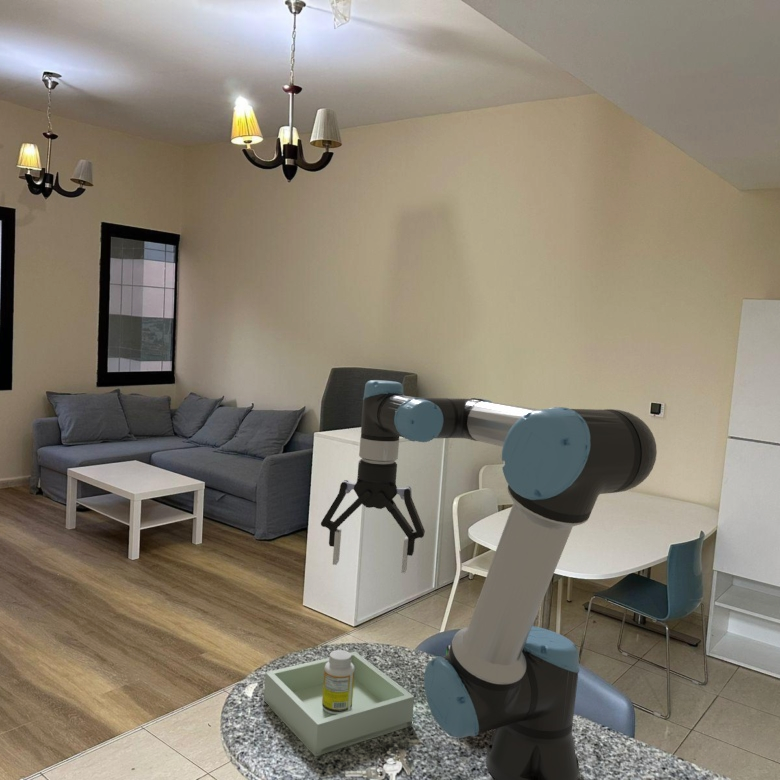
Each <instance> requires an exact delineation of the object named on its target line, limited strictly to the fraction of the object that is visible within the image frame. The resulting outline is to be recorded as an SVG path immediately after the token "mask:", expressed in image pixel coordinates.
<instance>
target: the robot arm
mask: <svg viewBox="0 0 780 780" xmlns="http://www.w3.org/2000/svg"><path fill="white" fill-rule="evenodd" d="M361 412H362V413H361V427H360V428H361V431H360V436H359V438H360V439H359V440H360V441H359V452H358V457H359V458H361V459H359V461H358V466H357V479H356V483H355V482H349V480H347V479H344V480H343V481H342V482H341V483H340V485H339V491H338V494H337V496H336V497H335V499H334V501H333V502H332V504H331V505H330V507H329V509H328V510H327V512H326V514H325V515H324V517H323V519H322V520H321V522H320V525H321V527H324V528H327V529H328V530H329V536H328V545H329V547H333V551H332V552H333V554H332V565H334V566H337V564H338V563H339V561H340V553H341V540H342V538H341V537H342V528H339V527H340V526H341V525H342V524H343V523H344V522H345V521H346V520H347V519H348V518H349V517H350V516H351V515H352V514H353V513H354V512H355V511H356V510H357V509H359V507H361V505H363V506H364V507H365V508H368V509H369V508H370V509H371V508H375V509H378V510H382V509H385V508H386V510H387V512H389V513H390V514H391V516H392V517H393V519H394V521H396V523H397V524H398V526H399V527H400V528H401V530H402V532H404V535H405V537H404V540H403V550H402V551H403V552H402V560H401V561H402V563H401V573H402V574H406V573H407V570H408V569H407V567H408V559H409V557H408V556H410V557H412V556H413V555H414V552H415V541H416V539H419V538H420V539H422V538H423V537H424V536H425V532H426V531H425V528H424V525H423V522H422V521H421V518H420V515H419V512H418V510H417V508H416V506H415V502H414V500H413V497H412V487H411V486H406V487H398V486H397V471H398V470H397V469H398V463H397V462H396V461H397V460H398V458H399V447H400V446H399V445H400V438H404V439H405V440H408V441H410V442H419V443H427V442H430V441H433V440H434V439H466V440H470V441H475V442H481V443H485V444H490V445H493V446H497V447H502V449H501V450H502V451H501V460H502V462H504V465H503V466H502V467H501V468H502V469H501V470H502V473H503V476H504V479H505V481H506V483H507V492H508V495H509V497H510V499H511V500H512V501H513V503H512V506H511V508H510V511H509V514H508V516H507V519H506V521H505V525H504V528H503V530H502V533H501V536H500V539H499V542H498V543H497V547H496V550H495V552H494V556H493V557H492V561H491V563H490V566H489V568H488V571H487V574H486V577H485V580H484V583H483V585H482V587H481V590H480V593H479V596H478V599H477V602H476V605H475V607H474V610H473V612H472V615H471V618H470V621H469V623H468V626H466V627H463V628H461V629H459V630H458V631H457V632H456V633H455V635H454V636H453V638H452V641H451V644H450V645H451V646H450V649H449V651H448V654H447V655H446V654H445V655H444V656H440V655H439V656H436V657H434V658H433V659H431V660H429V661H428V663H427V664H426V667H425V670H424V676H423V685H424V693H425V696H426V700H427V701H426V702H427V704H428V707H429V709H430V712H431V714H432V716H433V719H434V720H435V722H436V723H437V725H438V726H439V727H440V729H441V730H442V731H444V732H445V733H446V735H448V736H450V737H453V738H456V739H463V738H465V737H467V738H468V737H476V736H478V735H481V734H483V733H486V732H491V731H493V730H494V731H493V733H492V736H491V738H490V741H489V742H488V745H487V748H486V757H485V758H486V759H485V763H486V764H485V765H486V767H487V770H488V772H489V774H491V776H492V778H494V780H579V778H580V777H579V774H580V763H579V759H578V756H577V755H576V749H575V748H576V747H575V742H574V736H573V725H574V724H573V722H574V715H575V706H576V696H577V688H578V680H579V673H580V668H579V666H580V663H579V660H580V653H579V649H578V647H577V645H575V643H574V642H573V641H572V640H570V639H569V638H568V637H566V636H564V635H562V634H560V633H557V632H555V631H553V630H550V629H547V628H544V627H538V626H534V623H535V621H536V619H537V616H538V613H539V611H540V608H541V606H542V603H543V601H544V599H545V596H546V594H547V592H548V590H549V589H548V588H549V586H550V584H551V581H552V579H553V576H554V574H555V572H556V570H557V566H558V564H559V562H560V559H561V557H562V555H563V552H564V549H565V547H566V545H567V542H568V540H569V537H570V535H571V532H572V530H573V527H575V526H579V525H583V524H585V523H586V522H587V521H588V520H589V518H590V516H591V514H592V511H593V509H594V507H595V504H596V502H597V500H598V498H599V496H600V495H603V494H605V495H606V494H615V493H621V492H626V491H628V490H631V489H634V488H636V487H637V486H639V485H640V484H642V483H643V482H644V481H645V480H646V479H647V478H648V477H649V476H650V475H651V473H652V471H653V469H654V466H655V464H656V461H657V451H658V450H657V442H656V439H655V437H654V433H653V432H652V430H651V429H650V427H649V426H648V425H647V424H646V422H645V421H643V419H641V418H640V417H639V416H636V415H635V414H633V413H630V412H628V411H626V410H625V411H624V410H620V409H610V408H609V409H608V408H607V409H601V408H600V409H594V408H593V409H591V408H589V409H585V408H568V407H560V406H558V407H557V406H555V407H549V408H545V409H542V408H541V409H539V408H532V407H525V406H519V405H513V404H505V403H499V402H493V401H491V400H490V399H484V398H479V397H477V398H475V397H473V398H447V397H419V396H418V397H416V396H409V395H405V393H404V385H403V384H402V383H401V382H400V381H399V382H398V381H392V380H379V379H373V380H372V379H371V380H368V381H367V382H366V383H365V385H364V392H363V398H362V410H361ZM352 490H354V492H355V495H356V496H357V498H356V499H355V501H353V502H352V503H351V505H349V506H348V507H347V508H346V509H345V510H344V511H343V512H342V513H341V514H340V515H339V516H338V517H337V518H336V519H335V520H334V521H332V518H333V517H334V515H335V514H336V512H337V510H338V509H339V507H340V505H341V504H342V501H343V500H344V499H345V496H347V494H349V493H351V491H352ZM397 495H399V497H400V499H401V500H404V505H405V507H406V509H407V512H408V515H409V517H410V520H411V522H412V525H413V527H414V529H415V530H414V529H413V527H412V525H410V523H409V522H408V520H407V519H406V517H405V516H404V515H403V513H402V512H401V510H400V509H399V507H398V506H397V504H396V502H395V501H394V498H395V497H396V496H397Z"/></svg>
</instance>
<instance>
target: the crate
mask: <svg viewBox="0 0 780 780" xmlns="http://www.w3.org/2000/svg"><path fill="white" fill-rule="evenodd" d="M349 653H350V654H351V663H352V664H353V665H354V667H355V671H354V685H353V699H352V708H351V710H350V711H348V712H344V713H341V714H337V715H335V714H330V713H328V712H326V711H325V710H324V709H323V707H322V699H323V684H324V668H325V665H326V663H327V662H329V657H326V658H321V659H318V660H313V661H308V662H305V663H300V664H296V665H291V666H287V667H282V668H279V669H274V670H269V671H266V672H265V673H264V686H263V687H264V689H263V702H264V701H265V702H266V703H267V704H268V705H269V706H268V705H267V704H266V703H265V702H264V703H265V704H266V705H267V706H268V707H269V708H270V709H271V710H272V711H273V712H274V714H276V716H277V717H278V718H279V719H280V720H281V721H282V722H283V723H284V725H286V726H287V727H288V729H289V730H290V731H291V732H292V734H294V735H295V736H296V737H297V739H298V740H299V741H300V742H301V743H302V744H303V745H304V746H305V747H306V748H307V749H308V750H309V752H311V754H313V756H314V757H318V756H322V755H325V754H328V753H331V752H334V751H338V750H341V749H344V748H347V747H349V746H353V745H356V744H359V743H362V742H365V741H368V740H372V739H375V738H377V737H380V736H384V735H387V734H391V733H393V732H396V731H400V730H403V729H407V728H409V727H412V725H413V716H414V715H413V714H414V705H415V696H414V695H413V694H411V693H410V692H409V691H408V690H406V689H405V688H404V687H403V686H401V685H400V684H398V683H397V682H396V681H394V680H393V679H392V678H391V677H390V676H388V675H387V674H385V673H384V672H383V671H382V670H380V669H379V668H377V667H376V666H375V665H374V664H372V663H371V662H370V661H369V660H367V659H365V658H364V657H363V656H362V655H361V654H359V653H358V652H357V651H352V652H349Z"/></svg>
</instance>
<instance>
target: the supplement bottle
mask: <svg viewBox="0 0 780 780" xmlns="http://www.w3.org/2000/svg"><path fill="white" fill-rule="evenodd" d="M350 653H351V652H348V651H346V650H341V649H337V650H333V651H331V652H330V653H329V657H328V658H329V662H327V663H326V665H325V668H324V684H323V699H322V707H323V709H324V710H325V711H326V712H328V713H330V714H335V715H337V714H341V713H344V712H348V711H350V710H351V708H352V699H353V685H354V671H355V667H354V665H353V664H352V663H351V654H350Z"/></svg>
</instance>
